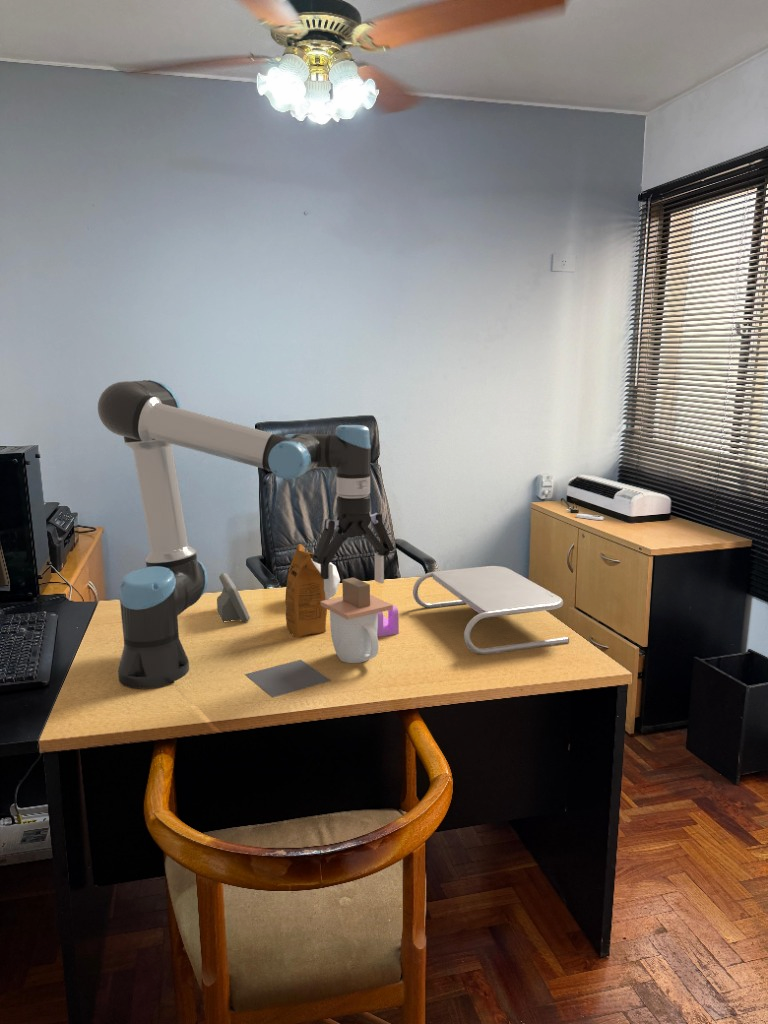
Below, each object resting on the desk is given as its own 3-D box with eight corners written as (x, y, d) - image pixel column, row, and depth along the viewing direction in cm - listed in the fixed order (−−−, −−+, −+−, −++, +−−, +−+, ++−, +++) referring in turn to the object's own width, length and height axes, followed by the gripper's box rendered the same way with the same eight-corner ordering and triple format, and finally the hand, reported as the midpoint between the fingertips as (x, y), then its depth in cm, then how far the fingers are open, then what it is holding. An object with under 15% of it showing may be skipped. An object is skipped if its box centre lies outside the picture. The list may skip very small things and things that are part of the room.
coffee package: (319, 619, 195) (316, 540, 191) (330, 635, 184) (328, 551, 179) (282, 624, 192) (279, 544, 188) (291, 640, 181) (288, 555, 176)
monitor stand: (570, 644, 177) (571, 602, 175) (465, 659, 169) (465, 615, 167) (501, 599, 212) (502, 563, 209) (412, 609, 203) (411, 573, 201)
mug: (396, 667, 164) (396, 612, 161) (355, 678, 158) (354, 622, 155) (362, 646, 176) (361, 595, 173) (322, 656, 170) (321, 604, 167)
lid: (347, 619, 157) (347, 593, 156) (320, 605, 167) (319, 580, 165) (392, 609, 163) (392, 583, 162) (364, 595, 173) (363, 571, 172)
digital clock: (250, 624, 193) (248, 586, 190) (215, 626, 191) (213, 588, 189) (250, 605, 208) (248, 569, 206) (218, 607, 207) (216, 571, 205)
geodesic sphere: (335, 593, 199) (338, 547, 205) (286, 592, 200) (290, 547, 206) (341, 609, 212) (343, 566, 218) (295, 609, 213) (298, 566, 219)
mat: (272, 700, 148) (272, 697, 148) (244, 676, 160) (244, 674, 159) (331, 682, 156) (331, 680, 156) (300, 661, 167) (300, 659, 167)
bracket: (398, 634, 184) (398, 608, 183) (378, 637, 182) (377, 611, 181) (380, 618, 196) (380, 593, 195) (361, 620, 194) (361, 596, 193)
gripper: (312, 503, 150) (314, 601, 154) (408, 492, 164) (408, 581, 168) (295, 498, 156) (297, 592, 160) (390, 487, 170) (390, 574, 174)
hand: (354, 587), depth 164 cm, fingers open, 13 cm apart
